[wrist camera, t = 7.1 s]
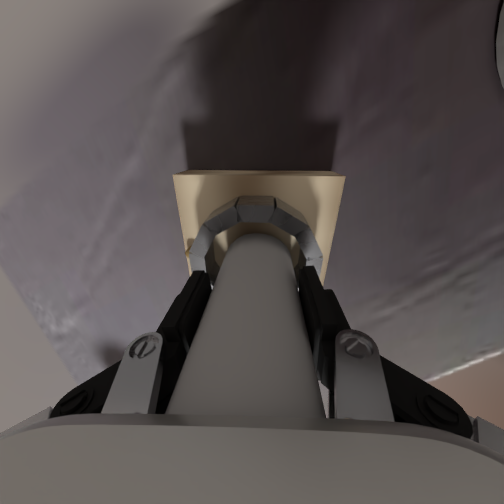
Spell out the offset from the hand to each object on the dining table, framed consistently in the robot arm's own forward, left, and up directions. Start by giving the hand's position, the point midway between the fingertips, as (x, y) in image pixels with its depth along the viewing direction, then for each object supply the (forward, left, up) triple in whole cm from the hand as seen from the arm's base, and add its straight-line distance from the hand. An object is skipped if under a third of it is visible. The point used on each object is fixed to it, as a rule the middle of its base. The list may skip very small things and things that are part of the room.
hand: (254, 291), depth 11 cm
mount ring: (0, 0, -5) cm, 5 cm away
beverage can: (0, 0, -5) cm, 5 cm away
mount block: (0, 0, -8) cm, 8 cm away
